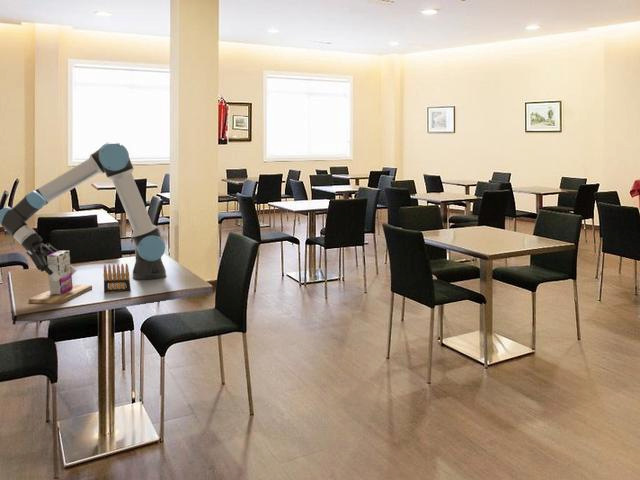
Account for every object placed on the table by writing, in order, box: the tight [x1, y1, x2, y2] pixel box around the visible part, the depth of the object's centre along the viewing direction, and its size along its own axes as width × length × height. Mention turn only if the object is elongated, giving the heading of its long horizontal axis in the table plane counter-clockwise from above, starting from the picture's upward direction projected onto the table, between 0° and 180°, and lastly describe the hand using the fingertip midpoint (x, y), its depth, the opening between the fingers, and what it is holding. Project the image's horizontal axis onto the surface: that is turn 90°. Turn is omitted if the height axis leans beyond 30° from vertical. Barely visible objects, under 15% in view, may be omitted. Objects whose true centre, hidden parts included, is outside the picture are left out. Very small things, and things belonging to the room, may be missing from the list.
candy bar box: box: [46, 250, 73, 295], centre depth 251 cm, size 11×5×16 cm, turn 179°
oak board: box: [28, 284, 93, 305], centre depth 252 cm, size 14×24×2 cm, turn 173°
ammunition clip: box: [103, 263, 132, 293], centre depth 257 cm, size 11×2×12 cm, turn 100°
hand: (66, 276), depth 251 cm, fingers closed on candy bar box, 11 cm apart
